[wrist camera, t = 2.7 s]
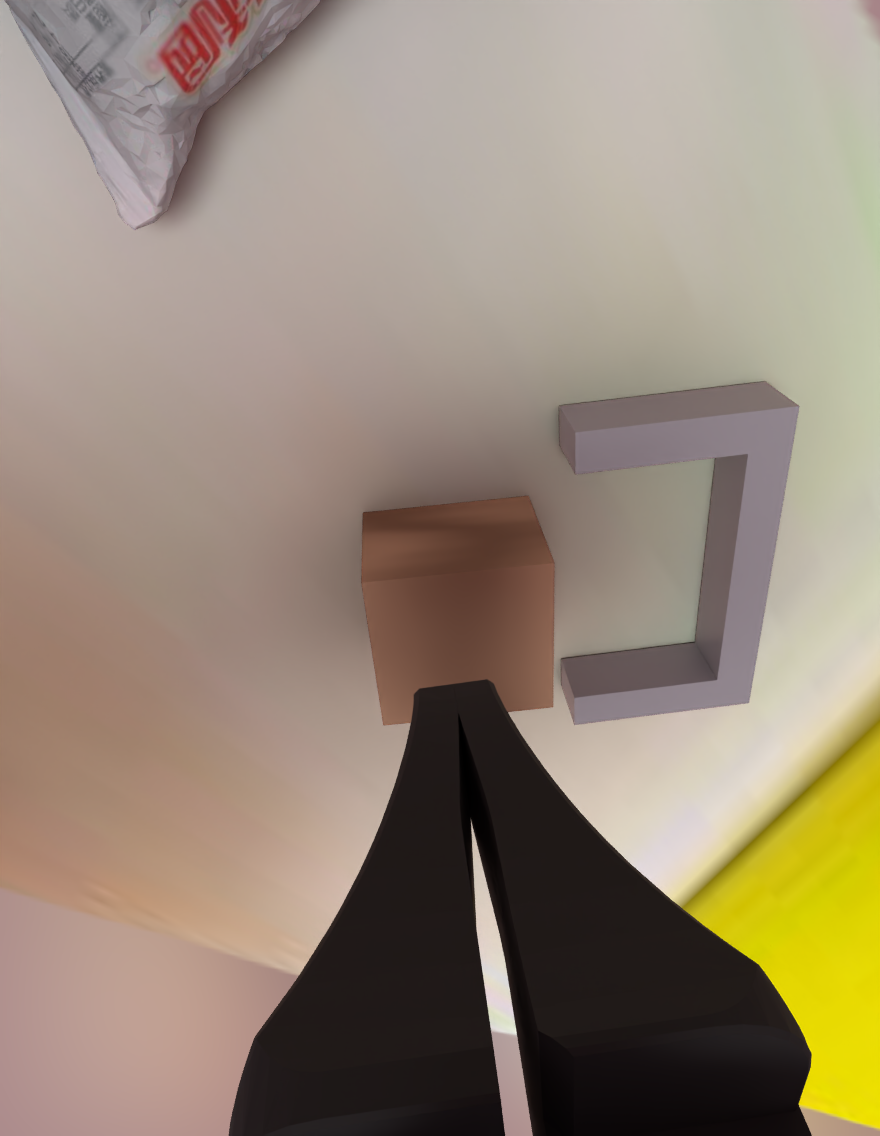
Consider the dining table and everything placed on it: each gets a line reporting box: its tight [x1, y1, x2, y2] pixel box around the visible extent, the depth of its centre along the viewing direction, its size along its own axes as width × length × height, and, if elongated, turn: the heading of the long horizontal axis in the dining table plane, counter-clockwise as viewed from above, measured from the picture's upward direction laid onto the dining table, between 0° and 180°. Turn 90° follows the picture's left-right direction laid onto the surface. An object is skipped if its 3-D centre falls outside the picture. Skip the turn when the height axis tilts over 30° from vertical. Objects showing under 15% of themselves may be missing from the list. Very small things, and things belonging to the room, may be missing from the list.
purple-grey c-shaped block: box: [559, 382, 799, 725], centre depth 23 cm, size 6×10×2 cm, turn 5°
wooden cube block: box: [361, 496, 554, 725], centre depth 22 cm, size 5×5×4 cm
